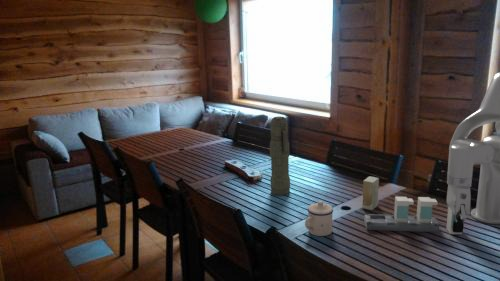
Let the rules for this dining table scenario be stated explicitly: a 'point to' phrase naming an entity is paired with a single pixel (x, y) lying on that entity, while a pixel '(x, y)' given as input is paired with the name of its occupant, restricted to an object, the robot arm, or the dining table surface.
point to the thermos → (279, 157)
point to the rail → (399, 223)
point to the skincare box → (370, 192)
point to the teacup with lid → (319, 219)
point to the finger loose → (451, 221)
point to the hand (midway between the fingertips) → (454, 227)
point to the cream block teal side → (425, 209)
